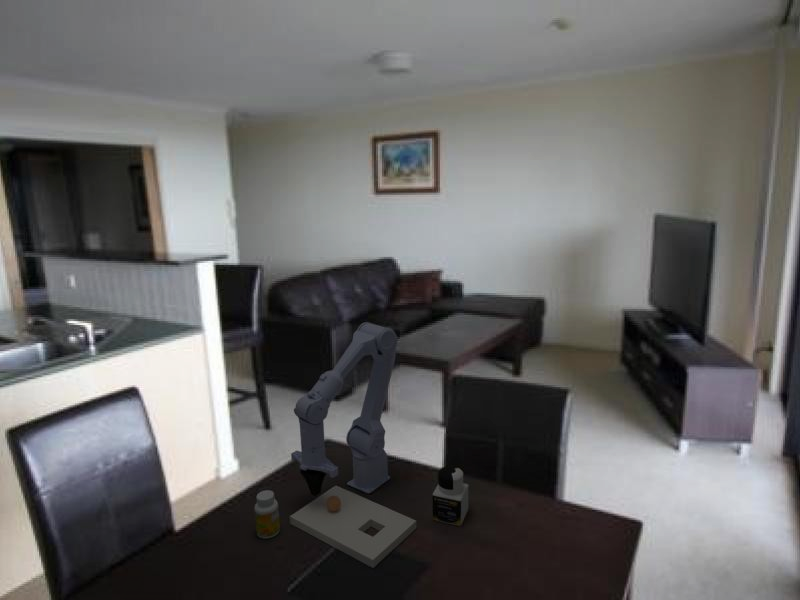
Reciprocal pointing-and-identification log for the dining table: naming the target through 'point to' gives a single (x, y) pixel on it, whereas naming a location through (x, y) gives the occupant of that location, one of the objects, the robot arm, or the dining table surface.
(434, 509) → the medicine bottle
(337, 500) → the ball
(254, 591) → the dining table surface
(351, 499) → the white flat board
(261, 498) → the supplement bottle
